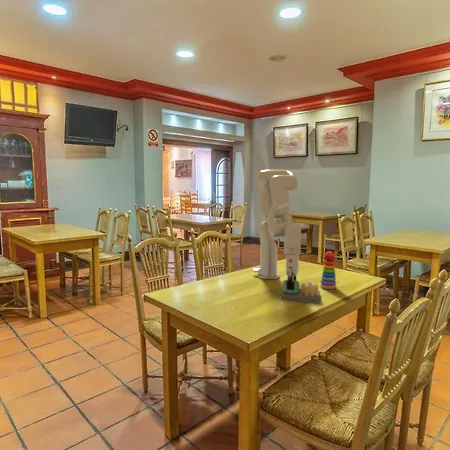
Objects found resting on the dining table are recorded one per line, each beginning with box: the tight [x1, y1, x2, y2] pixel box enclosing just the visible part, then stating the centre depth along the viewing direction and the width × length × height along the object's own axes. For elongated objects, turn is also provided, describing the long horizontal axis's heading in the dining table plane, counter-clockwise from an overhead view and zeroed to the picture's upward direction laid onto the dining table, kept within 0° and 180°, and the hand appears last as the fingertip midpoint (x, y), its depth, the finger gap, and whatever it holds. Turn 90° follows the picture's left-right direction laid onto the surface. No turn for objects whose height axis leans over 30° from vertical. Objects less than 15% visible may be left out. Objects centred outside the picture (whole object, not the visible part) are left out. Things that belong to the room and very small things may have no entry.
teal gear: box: [282, 279, 300, 293], centre depth 166 cm, size 8×8×4 cm
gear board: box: [279, 281, 321, 304], centre depth 164 cm, size 17×12×8 cm
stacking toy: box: [319, 251, 337, 290], centre depth 178 cm, size 8×8×19 cm
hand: (291, 286), depth 165 cm, fingers closed on teal gear, 7 cm apart
